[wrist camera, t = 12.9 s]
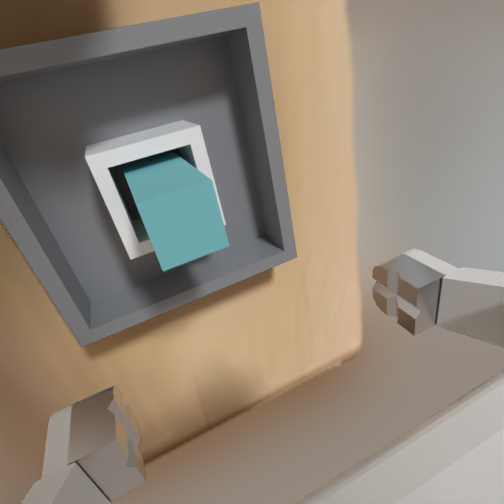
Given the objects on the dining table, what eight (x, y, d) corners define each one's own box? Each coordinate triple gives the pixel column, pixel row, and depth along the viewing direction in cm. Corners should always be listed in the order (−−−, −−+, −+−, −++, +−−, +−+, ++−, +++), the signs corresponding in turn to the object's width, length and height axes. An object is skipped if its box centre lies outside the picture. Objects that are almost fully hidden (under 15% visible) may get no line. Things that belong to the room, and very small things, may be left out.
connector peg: (119, 162, 26) (136, 205, 16) (168, 148, 27) (212, 180, 17) (138, 208, 28) (162, 271, 18) (183, 193, 29) (229, 245, 19)
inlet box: (-59, 72, 21) (-106, 65, 16) (232, 16, 26) (265, -2, 21) (83, 313, 31) (81, 355, 26) (273, 238, 36) (302, 261, 31)
